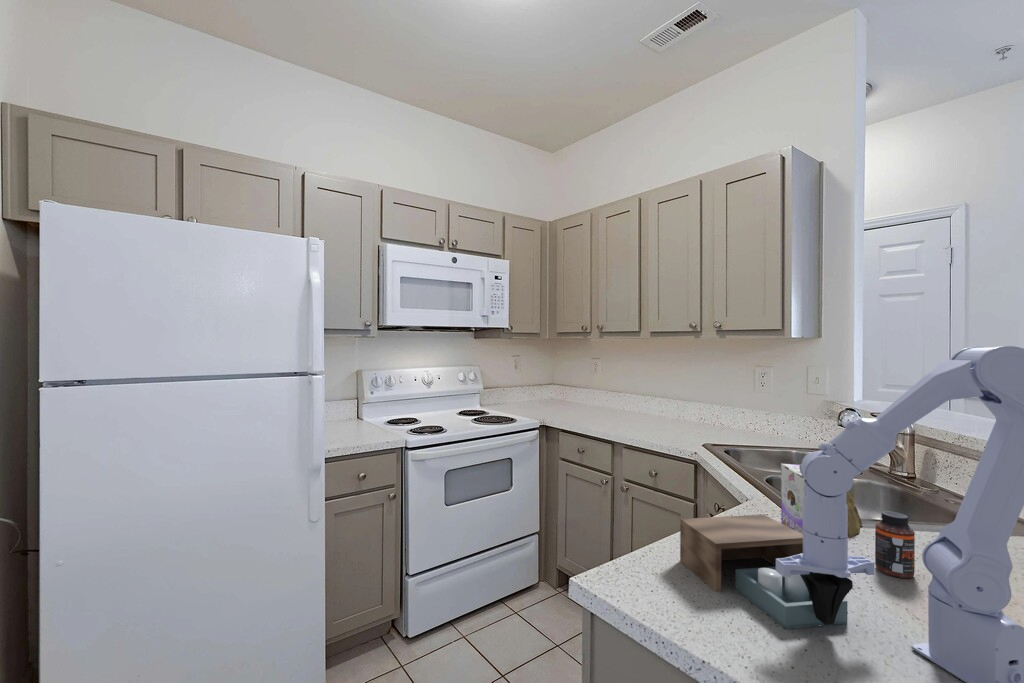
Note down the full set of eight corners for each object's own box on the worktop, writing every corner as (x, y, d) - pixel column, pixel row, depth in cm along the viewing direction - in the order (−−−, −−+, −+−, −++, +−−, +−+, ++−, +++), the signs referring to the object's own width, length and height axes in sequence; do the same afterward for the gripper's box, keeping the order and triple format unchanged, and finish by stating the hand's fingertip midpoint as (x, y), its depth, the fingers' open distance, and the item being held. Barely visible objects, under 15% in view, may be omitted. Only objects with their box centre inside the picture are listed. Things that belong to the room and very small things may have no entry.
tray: (847, 623, 72) (847, 590, 72) (785, 629, 70) (785, 596, 70) (789, 584, 84) (789, 556, 84) (735, 589, 82) (735, 560, 82)
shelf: (809, 583, 84) (809, 537, 85) (716, 591, 81) (716, 543, 81) (763, 554, 96) (763, 514, 96) (680, 560, 93) (680, 519, 93)
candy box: (836, 559, 95) (835, 479, 95) (804, 556, 96) (804, 477, 96) (807, 533, 108) (807, 463, 108) (779, 531, 109) (779, 462, 110)
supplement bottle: (908, 582, 85) (908, 522, 85) (870, 569, 90) (870, 512, 90) (919, 574, 88) (919, 515, 89) (881, 562, 93) (881, 506, 94)
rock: (846, 509, 118) (812, 505, 117) (867, 489, 113) (831, 484, 112) (874, 549, 109) (837, 545, 108) (898, 529, 105) (860, 525, 103)
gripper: (798, 543, 66) (797, 639, 65) (892, 541, 67) (892, 635, 66) (767, 524, 73) (766, 610, 72) (852, 523, 74) (853, 608, 73)
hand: (824, 620), depth 70 cm, fingers closed
